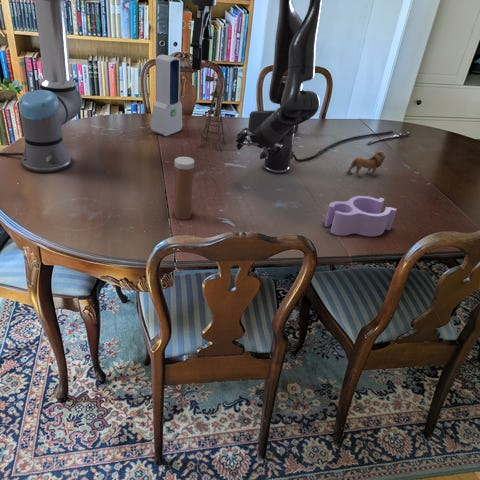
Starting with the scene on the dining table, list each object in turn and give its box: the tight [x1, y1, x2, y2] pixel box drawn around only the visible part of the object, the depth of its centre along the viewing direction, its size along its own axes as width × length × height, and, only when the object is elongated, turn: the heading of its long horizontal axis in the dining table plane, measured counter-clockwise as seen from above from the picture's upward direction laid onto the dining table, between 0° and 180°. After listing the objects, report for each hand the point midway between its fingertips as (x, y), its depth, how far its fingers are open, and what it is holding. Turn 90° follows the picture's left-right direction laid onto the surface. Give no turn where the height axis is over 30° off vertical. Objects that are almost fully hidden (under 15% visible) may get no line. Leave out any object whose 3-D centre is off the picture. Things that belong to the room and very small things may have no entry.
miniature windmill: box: [199, 67, 226, 150], centre depth 180 cm, size 9×8×30 cm
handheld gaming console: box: [247, 109, 299, 134], centre depth 202 cm, size 23×3×10 cm, turn 108°
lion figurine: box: [346, 150, 386, 178], centre depth 174 cm, size 15×5×9 cm, turn 110°
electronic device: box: [149, 54, 183, 137], centre depth 188 cm, size 12×8×30 cm, turn 148°
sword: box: [367, 133, 409, 145], centre depth 213 cm, size 31×3×1 cm, turn 126°
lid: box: [173, 156, 195, 170], centre depth 130 cm, size 6×6×2 cm
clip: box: [324, 195, 398, 237], centre depth 141 cm, size 20×12×7 cm, turn 109°
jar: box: [174, 167, 194, 220], centre depth 134 cm, size 5×5×17 cm
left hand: (200, 65), depth 149 cm, fingers open, 13 cm apart
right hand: (249, 151), depth 157 cm, fingers open, 8 cm apart
